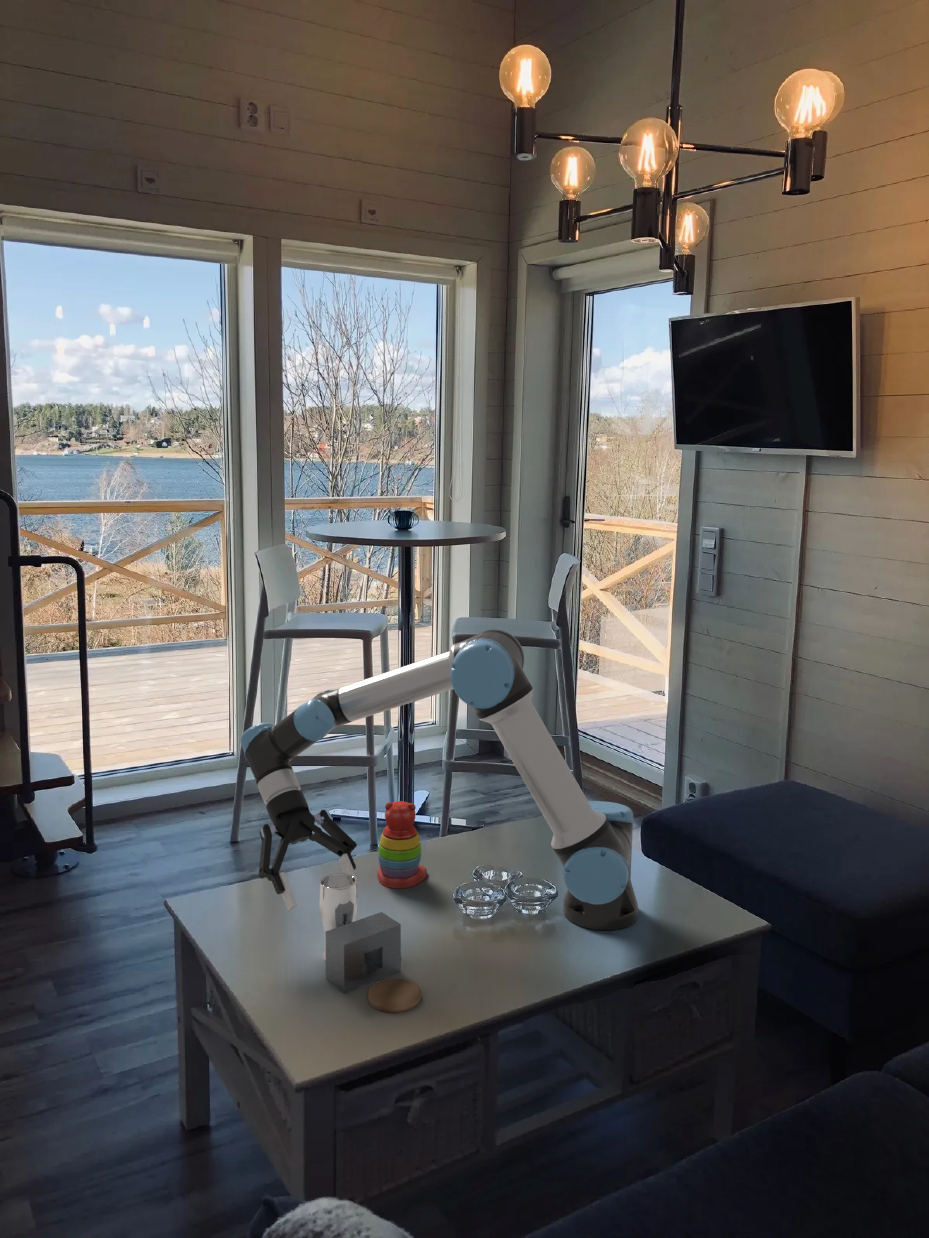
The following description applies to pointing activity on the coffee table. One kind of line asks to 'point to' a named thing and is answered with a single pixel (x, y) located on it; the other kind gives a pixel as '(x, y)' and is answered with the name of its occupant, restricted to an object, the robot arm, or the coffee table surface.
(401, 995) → the walnut coaster
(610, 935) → the coffee table surface
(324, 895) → the beer glass
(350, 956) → the grey block with hole
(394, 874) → the stacking bear
